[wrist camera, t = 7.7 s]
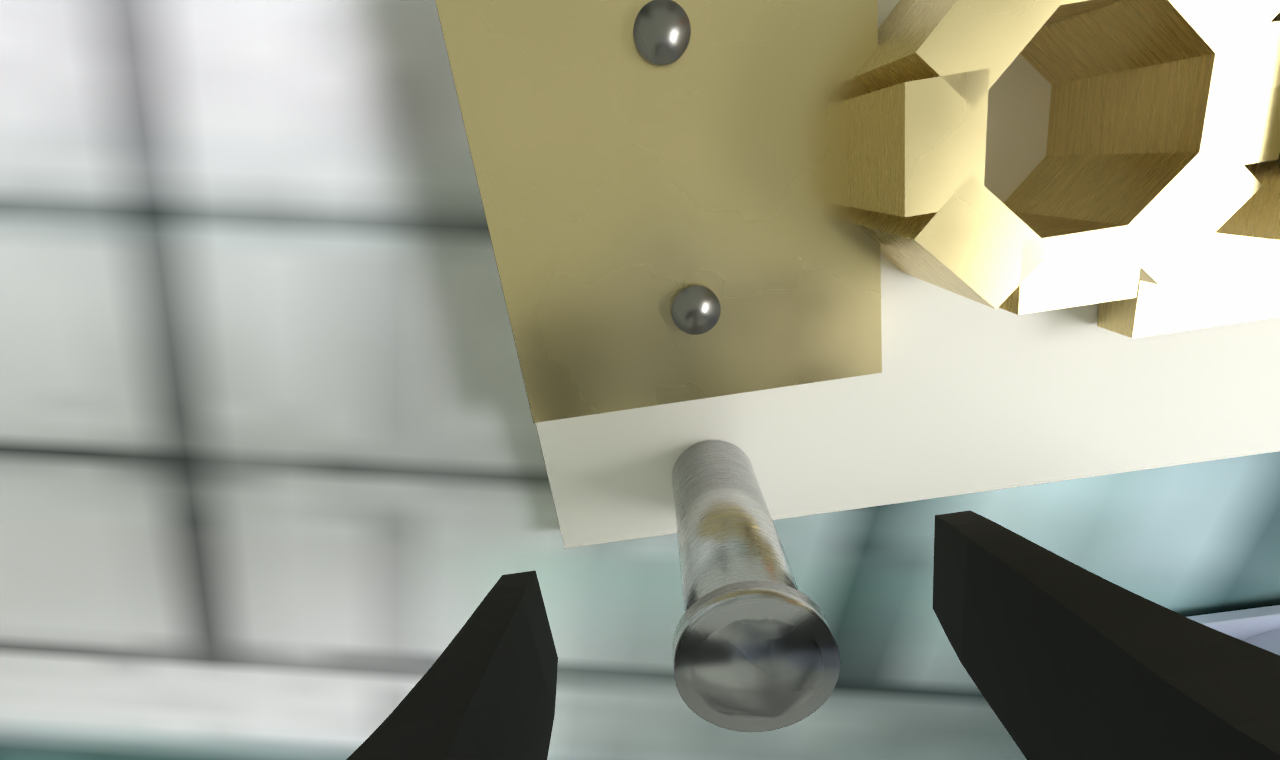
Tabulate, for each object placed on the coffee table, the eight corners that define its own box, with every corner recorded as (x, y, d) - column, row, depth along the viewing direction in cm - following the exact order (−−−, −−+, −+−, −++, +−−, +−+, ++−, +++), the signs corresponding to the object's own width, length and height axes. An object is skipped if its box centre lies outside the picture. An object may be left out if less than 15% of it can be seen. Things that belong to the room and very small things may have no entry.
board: (1658, 380, 15) (1713, 392, 14) (567, 530, 16) (564, 548, 15) (2049, -456, 10) (2166, -507, 9) (413, -153, 11) (396, -176, 10)
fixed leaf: (1085, 326, 13) (1232, 378, 10) (540, 405, 14) (511, 480, 11) (1139, -167, 10) (1375, -321, 7) (439, -43, 11) (355, -133, 8)
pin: (765, 515, 15) (840, 725, 9) (667, 524, 15) (681, 737, 9) (761, 425, 14) (840, 596, 8) (657, 435, 14) (666, 611, 9)
